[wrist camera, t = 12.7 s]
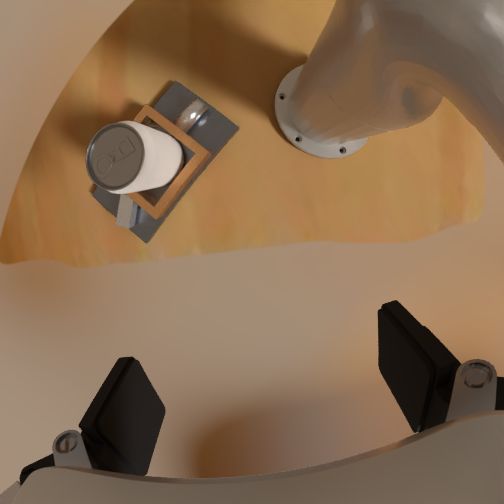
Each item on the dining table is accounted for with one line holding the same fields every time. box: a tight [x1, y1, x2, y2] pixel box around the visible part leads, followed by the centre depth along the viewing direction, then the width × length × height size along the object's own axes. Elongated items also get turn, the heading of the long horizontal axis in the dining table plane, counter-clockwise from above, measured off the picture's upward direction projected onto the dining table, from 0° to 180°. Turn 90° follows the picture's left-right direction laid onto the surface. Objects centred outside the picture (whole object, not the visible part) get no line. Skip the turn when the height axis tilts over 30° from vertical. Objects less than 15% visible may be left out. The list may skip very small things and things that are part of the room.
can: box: [86, 121, 184, 194], centre depth 25 cm, size 6×6×12 cm
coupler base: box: [92, 81, 239, 243], centre depth 30 cm, size 18×10×4 cm, turn 139°
